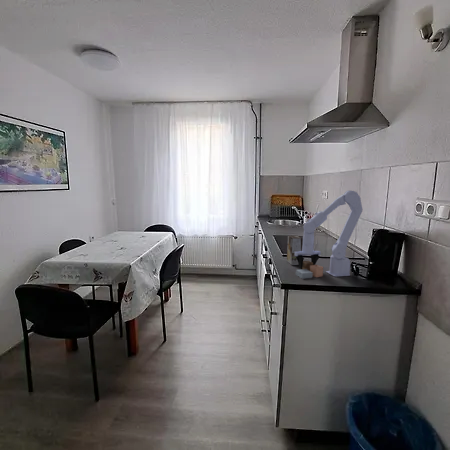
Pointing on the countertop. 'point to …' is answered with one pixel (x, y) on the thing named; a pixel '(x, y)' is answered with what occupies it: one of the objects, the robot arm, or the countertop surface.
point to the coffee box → (293, 248)
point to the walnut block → (307, 265)
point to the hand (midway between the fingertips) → (306, 268)
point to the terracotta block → (316, 270)
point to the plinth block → (304, 273)
